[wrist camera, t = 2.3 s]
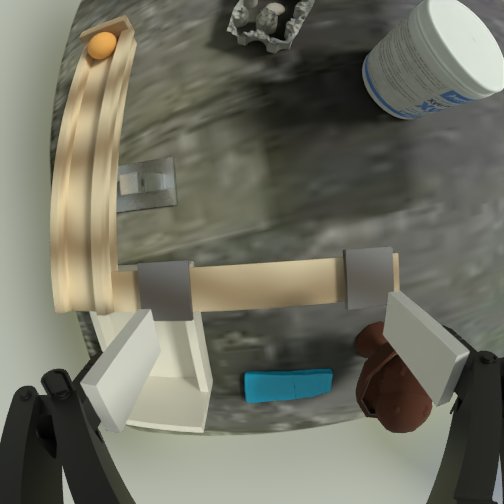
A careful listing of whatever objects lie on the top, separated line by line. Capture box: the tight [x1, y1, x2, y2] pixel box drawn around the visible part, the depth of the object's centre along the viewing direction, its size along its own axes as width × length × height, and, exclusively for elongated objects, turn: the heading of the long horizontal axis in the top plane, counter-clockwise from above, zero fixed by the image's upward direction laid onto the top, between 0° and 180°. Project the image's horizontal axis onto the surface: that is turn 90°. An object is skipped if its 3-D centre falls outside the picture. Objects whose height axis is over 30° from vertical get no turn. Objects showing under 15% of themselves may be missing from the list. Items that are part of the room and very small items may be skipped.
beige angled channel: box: [50, 15, 399, 321], centre depth 18 cm, size 28×26×4 cm
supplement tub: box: [362, 0, 504, 119], centre depth 17 cm, size 10×10×15 cm
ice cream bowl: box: [356, 322, 432, 433], centre depth 25 cm, size 11×11×15 cm
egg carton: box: [226, 0, 315, 53], centre depth 21 cm, size 11×8×4 cm
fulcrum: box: [116, 157, 178, 212], centre depth 23 cm, size 5×11×8 cm, turn 94°
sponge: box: [245, 369, 333, 403], centre depth 33 cm, size 2×12×6 cm
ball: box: [88, 32, 117, 59], centre depth 17 cm, size 3×3×3 cm
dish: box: [89, 261, 213, 433], centre depth 27 cm, size 17×13×9 cm
